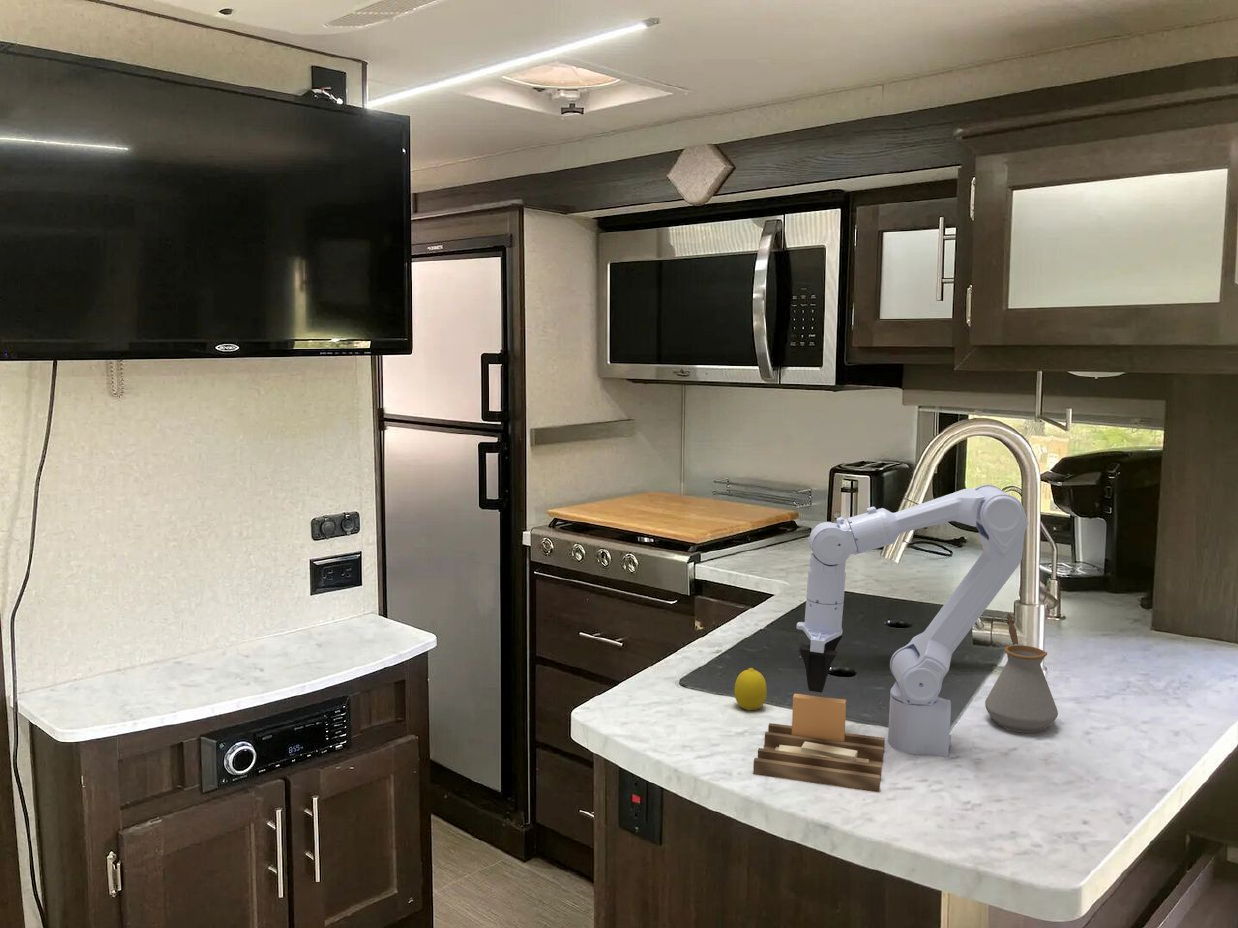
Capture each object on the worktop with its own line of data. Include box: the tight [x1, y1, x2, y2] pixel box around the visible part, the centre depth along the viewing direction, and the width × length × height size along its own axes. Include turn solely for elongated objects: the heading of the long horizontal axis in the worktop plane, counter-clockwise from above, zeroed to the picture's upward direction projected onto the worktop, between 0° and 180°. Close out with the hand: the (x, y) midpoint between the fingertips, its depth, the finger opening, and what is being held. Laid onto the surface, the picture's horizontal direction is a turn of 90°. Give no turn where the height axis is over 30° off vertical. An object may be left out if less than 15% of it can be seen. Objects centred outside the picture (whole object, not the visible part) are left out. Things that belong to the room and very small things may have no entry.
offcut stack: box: [775, 742, 869, 763], centre depth 149 cm, size 14×4×2 cm, turn 72°
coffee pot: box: [984, 613, 1059, 734], centre depth 171 cm, size 21×12×15 cm, turn 168°
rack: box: [752, 722, 886, 793], centre depth 150 cm, size 18×16×3 cm
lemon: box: [734, 667, 768, 711], centre depth 170 cm, size 6×6×8 cm
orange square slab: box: [791, 693, 847, 742], centre depth 154 cm, size 8×2×8 cm, turn 72°
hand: (818, 682), depth 156 cm, fingers open, 7 cm apart
